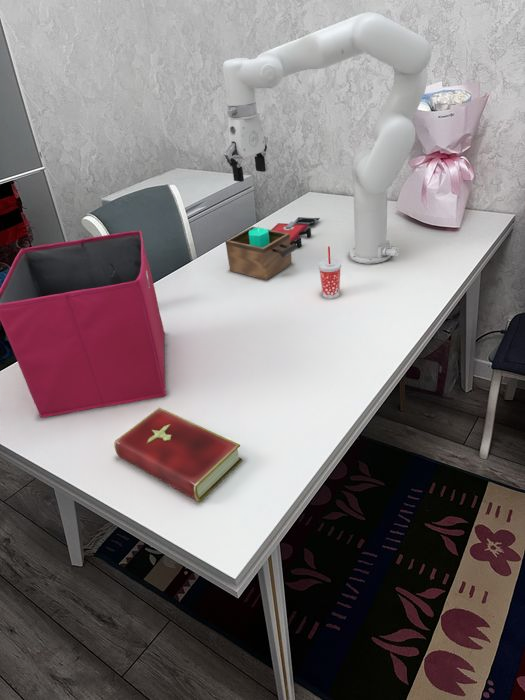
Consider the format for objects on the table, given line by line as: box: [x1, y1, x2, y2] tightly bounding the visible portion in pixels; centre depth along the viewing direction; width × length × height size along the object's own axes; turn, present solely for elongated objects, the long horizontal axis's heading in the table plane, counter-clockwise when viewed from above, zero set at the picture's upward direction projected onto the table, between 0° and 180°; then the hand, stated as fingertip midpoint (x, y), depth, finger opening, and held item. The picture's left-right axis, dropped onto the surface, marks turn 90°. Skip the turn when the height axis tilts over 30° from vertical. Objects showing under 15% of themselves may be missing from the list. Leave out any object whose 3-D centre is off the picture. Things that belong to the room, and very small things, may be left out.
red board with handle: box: [270, 216, 321, 249], centre depth 190 cm, size 30×3×15 cm
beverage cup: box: [317, 246, 342, 300], centre depth 148 cm, size 6×6×14 cm
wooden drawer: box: [225, 226, 298, 281], centre depth 167 cm, size 20×13×10 cm, turn 51°
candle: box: [249, 226, 270, 248], centre depth 168 cm, size 6×6×12 cm
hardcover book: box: [113, 407, 244, 503], centre depth 103 cm, size 12×21×4 cm, turn 52°
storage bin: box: [0, 230, 167, 419], centre depth 123 cm, size 28×29×28 cm
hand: (250, 175), depth 156 cm, fingers open, 9 cm apart
